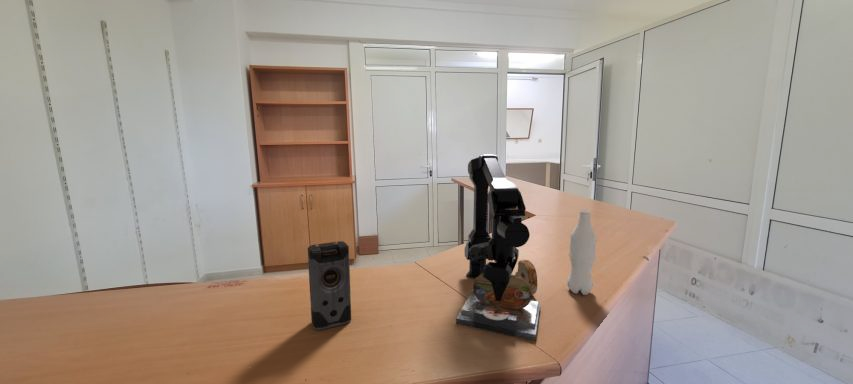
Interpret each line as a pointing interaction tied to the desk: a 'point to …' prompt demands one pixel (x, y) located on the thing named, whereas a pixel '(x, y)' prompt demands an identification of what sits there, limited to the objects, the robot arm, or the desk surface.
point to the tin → (513, 296)
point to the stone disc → (528, 274)
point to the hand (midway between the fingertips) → (501, 292)
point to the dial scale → (500, 318)
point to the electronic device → (329, 284)
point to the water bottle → (582, 254)
